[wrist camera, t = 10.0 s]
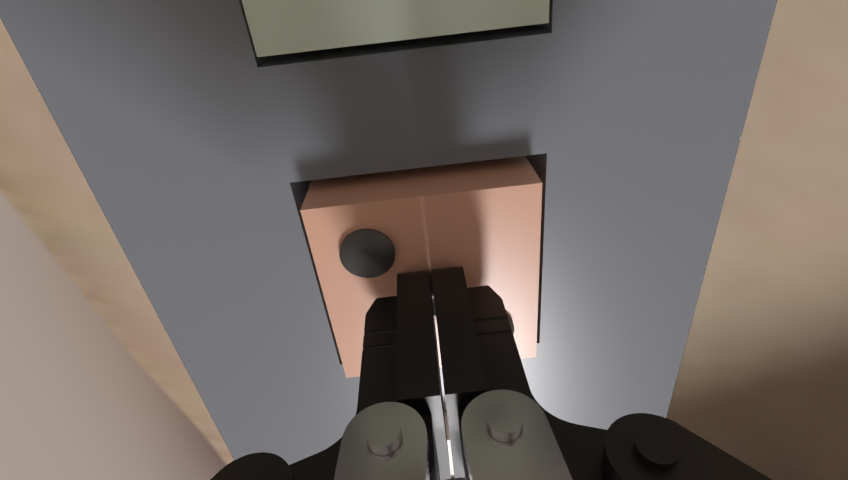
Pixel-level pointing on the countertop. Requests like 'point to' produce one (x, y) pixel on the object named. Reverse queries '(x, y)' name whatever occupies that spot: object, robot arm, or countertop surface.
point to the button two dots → (377, 21)
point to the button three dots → (426, 240)
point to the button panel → (398, 150)
